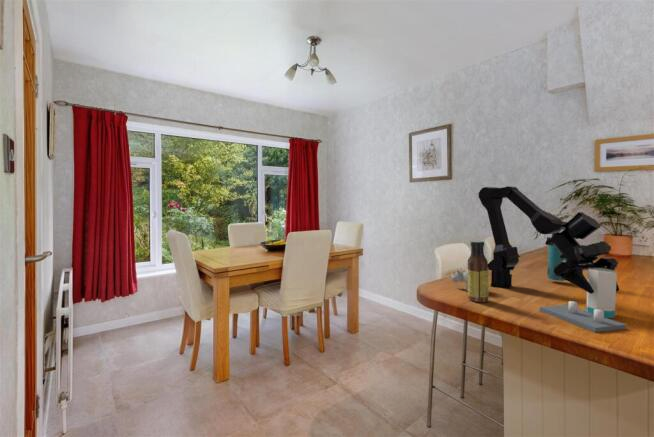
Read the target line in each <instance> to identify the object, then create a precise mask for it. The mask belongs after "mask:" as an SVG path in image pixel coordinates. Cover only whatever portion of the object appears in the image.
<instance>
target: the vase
mask: <svg viewBox="0 0 654 437" xmlns="http://www.w3.org/2000/svg"><path fill="white" fill-rule="evenodd" d="M617 275H618V272H617V271H616V270H615V269H614V270H609V269H602V268H588V270H587V281H588V282H589V284H590V285H591V287H592V289H593V290H594V293H592V294H590V293H589V292H587V291H586V310H585V311H587V312H590V313H593V314H594V309H598V310H603V311H604V317H605V318H608V319H611V318H612V319H615V318H616V316H615V315H616V296H617V292H616V281H617V279H618V278H617V277H618V276H617Z"/></svg>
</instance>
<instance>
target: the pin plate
mask: <svg viewBox="0 0 654 437" xmlns="http://www.w3.org/2000/svg"><path fill="white" fill-rule="evenodd" d="M539 312H542V313H544V314H547V315H549V316H552V317H555V318H557V319H559V320H562V321H565V322H566V323H570V324H573V325H575V326H577V327H580V328H583V329H586V330H588V331H590V332H592V333H603V332H610V331H611V332H612V331H620V330H626V329H627V324H626V323H623V322H619V321H618V320H615V319H611V318H605V317H604V311H603V310H598V309H594V314H593V313H590V312H587V311H586V310H583V309H581V308H578V302H577V301H573V300H569V301H568V304H559V305H548V306H540V307H539Z"/></svg>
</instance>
